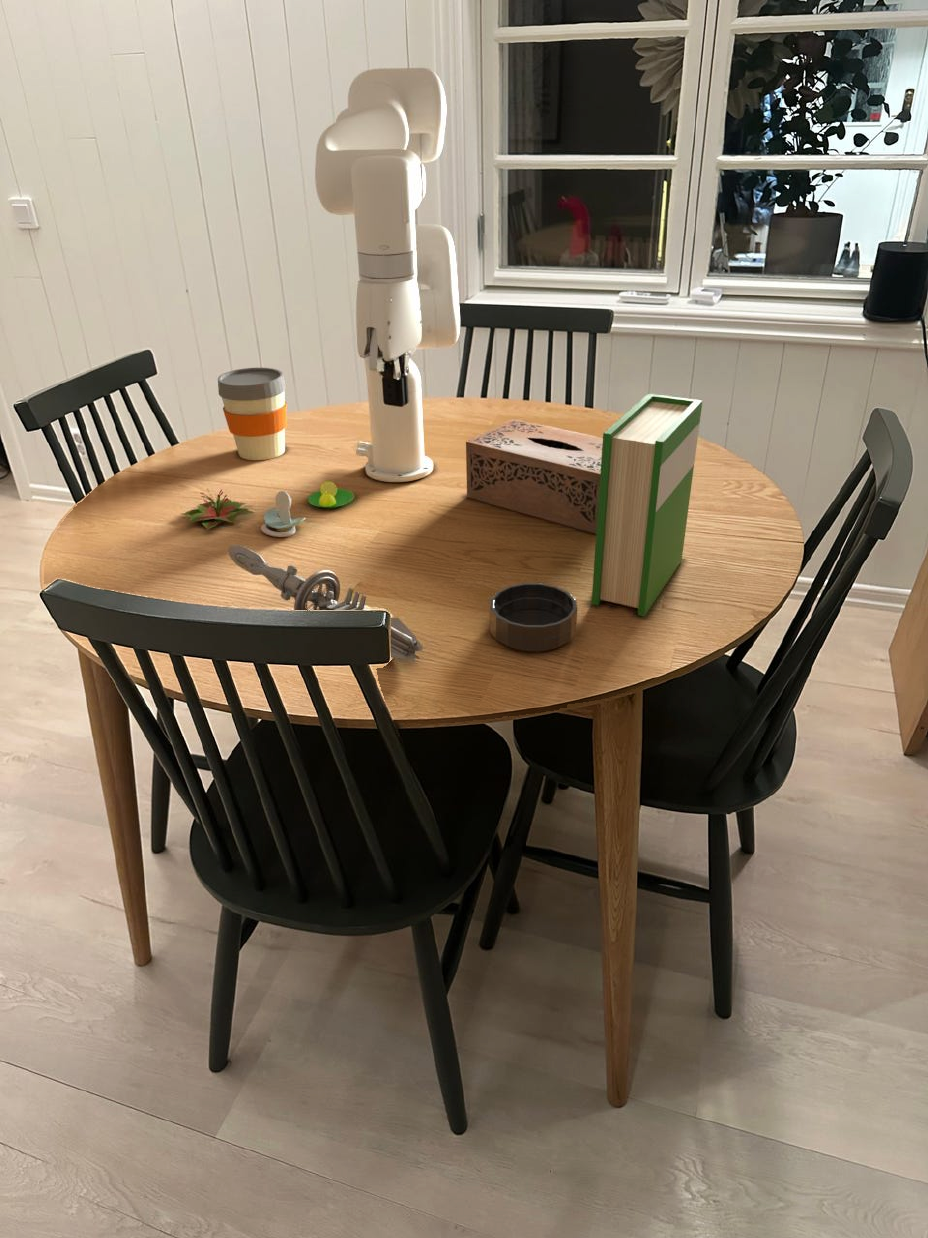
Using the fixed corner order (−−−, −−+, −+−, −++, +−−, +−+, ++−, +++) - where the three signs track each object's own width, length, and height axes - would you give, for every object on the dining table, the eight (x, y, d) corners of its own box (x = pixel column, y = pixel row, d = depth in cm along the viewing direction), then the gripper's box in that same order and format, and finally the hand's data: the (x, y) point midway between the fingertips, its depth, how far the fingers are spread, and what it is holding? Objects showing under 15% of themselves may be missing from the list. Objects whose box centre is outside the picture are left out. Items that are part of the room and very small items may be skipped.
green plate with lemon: (303, 496, 148) (301, 481, 146) (347, 488, 150) (345, 473, 149) (314, 514, 141) (312, 498, 140) (360, 505, 144) (359, 490, 142)
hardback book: (644, 616, 111) (663, 442, 99) (591, 604, 114) (603, 433, 102) (681, 560, 125) (702, 400, 112) (633, 550, 128) (648, 393, 115)
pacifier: (285, 543, 132) (311, 528, 137) (279, 507, 129) (306, 492, 133) (252, 532, 136) (279, 518, 140) (245, 497, 133) (273, 483, 137)
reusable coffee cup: (307, 447, 168) (297, 372, 161) (262, 468, 160) (250, 389, 152) (261, 437, 174) (250, 363, 166) (216, 456, 165) (201, 379, 158)
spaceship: (256, 523, 120) (211, 522, 113) (446, 621, 103) (407, 627, 97) (244, 574, 122) (199, 577, 116) (428, 679, 106) (389, 688, 99)
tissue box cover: (466, 497, 146) (465, 441, 141) (513, 471, 156) (514, 418, 150) (597, 534, 133) (602, 474, 127) (640, 503, 142) (645, 446, 137)
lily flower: (268, 516, 141) (264, 490, 138) (204, 539, 134) (199, 513, 131) (230, 496, 148) (226, 472, 146) (167, 517, 141) (162, 492, 139)
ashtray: (476, 642, 107) (475, 615, 105) (509, 602, 115) (510, 576, 113) (558, 662, 103) (559, 634, 101) (586, 618, 111) (588, 592, 109)
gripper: (391, 252, 116) (399, 385, 126) (330, 274, 105) (344, 417, 115) (440, 256, 113) (444, 391, 123) (382, 279, 102) (392, 425, 112)
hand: (396, 403), depth 119 cm, fingers closed
